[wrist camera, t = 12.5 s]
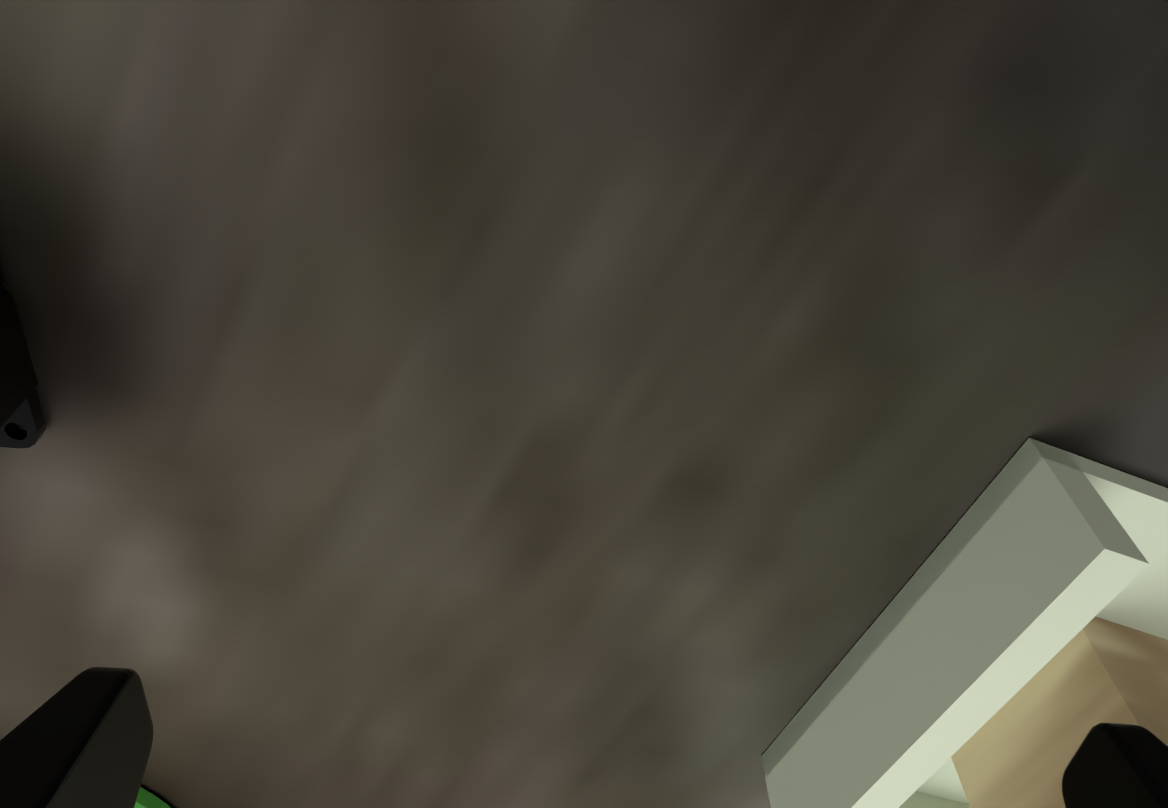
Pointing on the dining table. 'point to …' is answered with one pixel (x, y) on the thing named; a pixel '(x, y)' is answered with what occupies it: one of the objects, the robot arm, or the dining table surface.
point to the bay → (977, 632)
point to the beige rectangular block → (1065, 715)
